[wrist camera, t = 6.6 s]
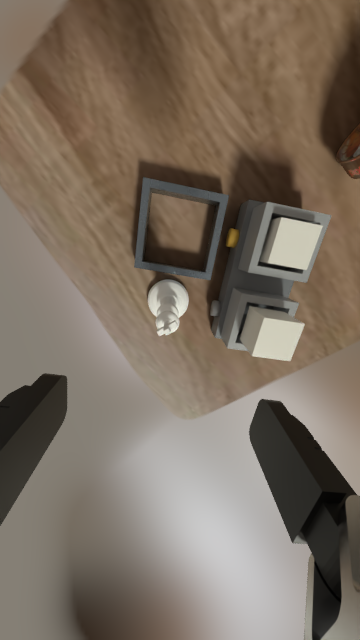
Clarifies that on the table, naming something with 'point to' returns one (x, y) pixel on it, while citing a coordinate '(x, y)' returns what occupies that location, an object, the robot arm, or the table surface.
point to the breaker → (271, 333)
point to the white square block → (290, 243)
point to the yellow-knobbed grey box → (257, 270)
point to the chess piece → (167, 304)
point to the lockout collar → (188, 194)
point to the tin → (351, 154)
